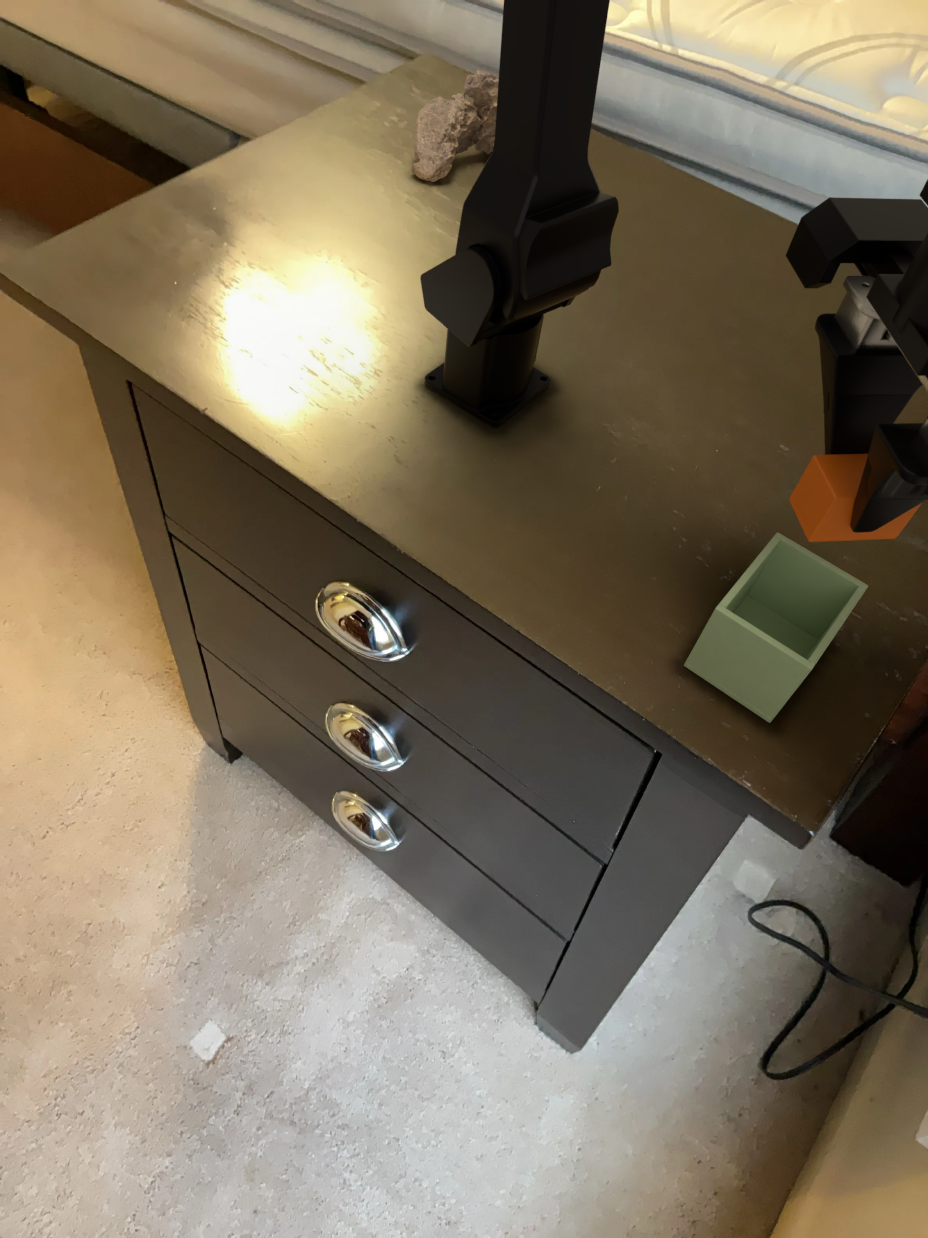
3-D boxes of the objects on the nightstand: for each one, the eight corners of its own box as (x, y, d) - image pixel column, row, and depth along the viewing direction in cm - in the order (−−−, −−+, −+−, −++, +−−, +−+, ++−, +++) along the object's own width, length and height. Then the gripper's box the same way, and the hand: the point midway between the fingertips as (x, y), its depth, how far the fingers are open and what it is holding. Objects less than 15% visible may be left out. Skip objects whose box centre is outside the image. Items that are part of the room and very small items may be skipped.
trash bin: (769, 723, 46) (812, 669, 42) (683, 665, 48) (715, 608, 43) (824, 643, 49) (868, 585, 45) (742, 591, 51) (777, 531, 47)
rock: (397, 152, 77) (400, 65, 71) (540, 136, 82) (553, 52, 76) (421, 186, 74) (426, 98, 68) (568, 168, 79) (584, 83, 73)
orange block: (808, 542, 41) (835, 498, 38) (787, 499, 42) (813, 453, 40) (896, 539, 41) (928, 495, 39) (873, 496, 43) (903, 451, 40)
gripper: (1494, 355, 24) (1108, 661, 37) (1119, 60, 35) (920, 375, 47) (1142, 358, 22) (865, 677, 35) (863, 48, 33) (728, 377, 46)
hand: (848, 505), depth 41 cm, fingers closed on orange block, 3 cm apart
